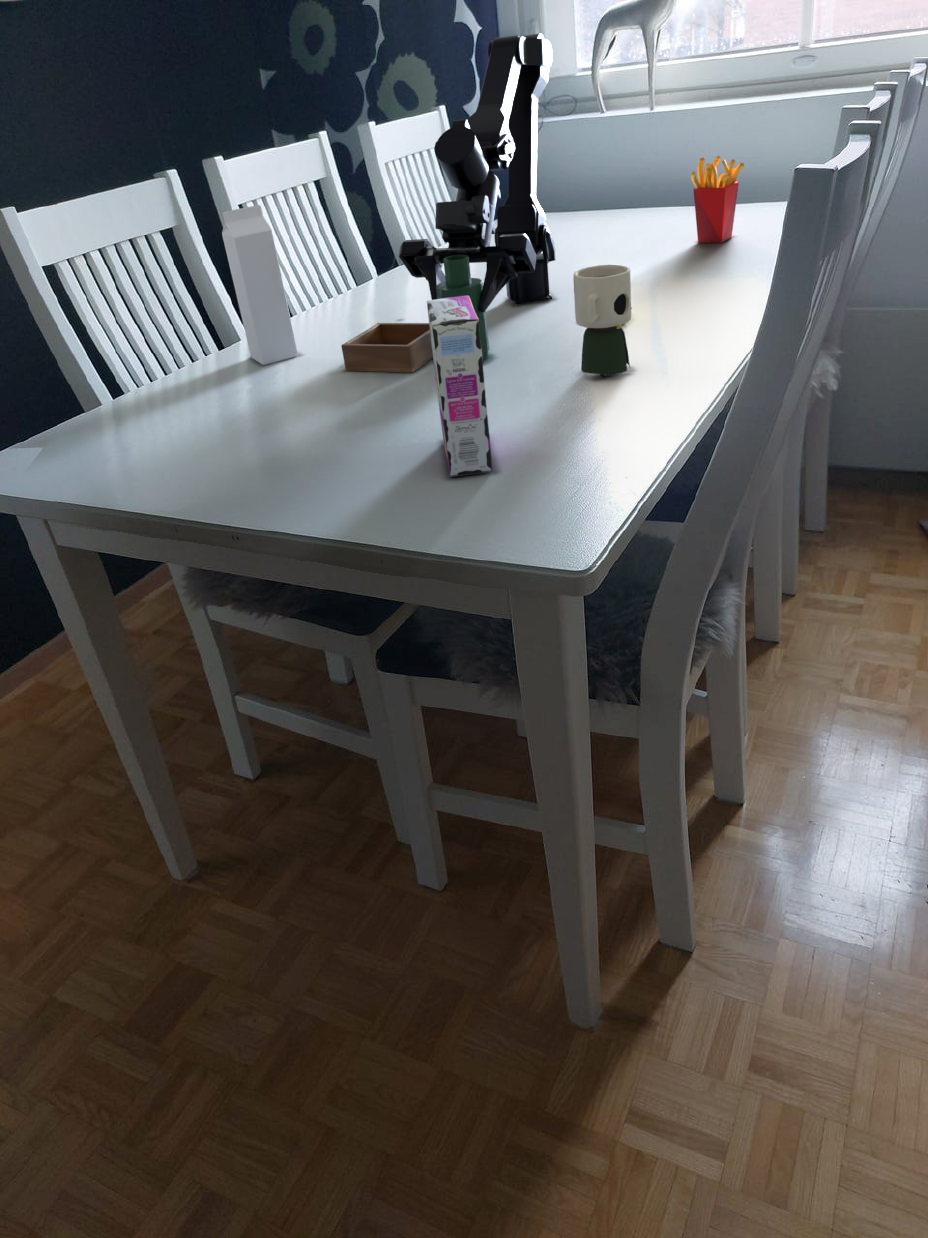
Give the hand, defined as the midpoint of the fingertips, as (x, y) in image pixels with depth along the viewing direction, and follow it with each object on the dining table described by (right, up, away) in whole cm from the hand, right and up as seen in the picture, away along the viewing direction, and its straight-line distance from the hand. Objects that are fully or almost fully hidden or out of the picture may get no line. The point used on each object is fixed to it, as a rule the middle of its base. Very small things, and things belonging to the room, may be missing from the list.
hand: (458, 311), depth 131 cm
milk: (-29, -1, +19) cm, 35 cm away
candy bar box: (+1, -25, -25) cm, 35 cm away
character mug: (+19, -10, -6) cm, 23 cm away
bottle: (+1, -5, +5) cm, 7 cm away
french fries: (+50, +30, +52) cm, 78 cm away
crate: (-9, -4, +10) cm, 14 cm away
